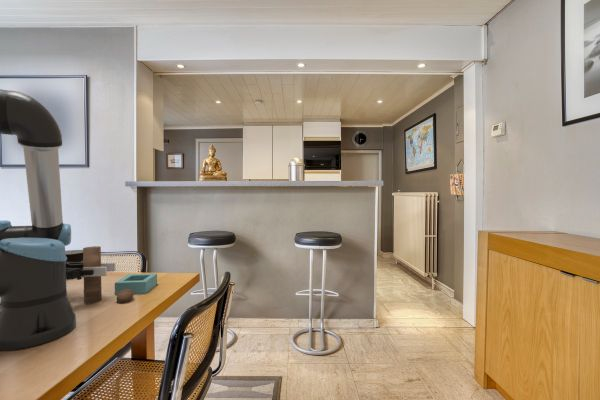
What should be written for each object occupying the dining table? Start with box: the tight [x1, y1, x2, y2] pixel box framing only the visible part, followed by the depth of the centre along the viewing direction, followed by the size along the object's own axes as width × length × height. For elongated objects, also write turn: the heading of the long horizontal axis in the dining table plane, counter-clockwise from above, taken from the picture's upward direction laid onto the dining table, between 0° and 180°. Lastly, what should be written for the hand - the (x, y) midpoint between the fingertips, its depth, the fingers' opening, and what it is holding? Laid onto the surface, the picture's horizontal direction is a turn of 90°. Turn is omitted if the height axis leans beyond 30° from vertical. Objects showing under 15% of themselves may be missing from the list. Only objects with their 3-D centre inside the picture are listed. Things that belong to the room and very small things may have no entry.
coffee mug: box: [65, 249, 83, 279], centre depth 115 cm, size 12×9×10 cm
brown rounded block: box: [116, 289, 134, 304], centre depth 90 cm, size 4×4×3 cm
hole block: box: [114, 273, 158, 296], centre depth 101 cm, size 10×10×4 cm
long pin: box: [82, 245, 103, 305], centre depth 90 cm, size 4×4×17 cm
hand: (110, 269), depth 90 cm, fingers closed on long pin, 4 cm apart
